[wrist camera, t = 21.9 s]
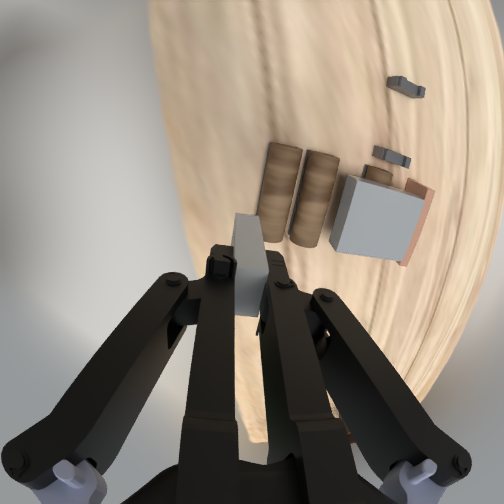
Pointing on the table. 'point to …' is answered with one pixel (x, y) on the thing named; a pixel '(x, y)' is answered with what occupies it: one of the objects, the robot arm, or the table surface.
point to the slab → (375, 220)
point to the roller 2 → (314, 198)
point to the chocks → (301, 185)
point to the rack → (413, 92)
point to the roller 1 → (278, 190)
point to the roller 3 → (378, 175)
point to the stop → (426, 195)
